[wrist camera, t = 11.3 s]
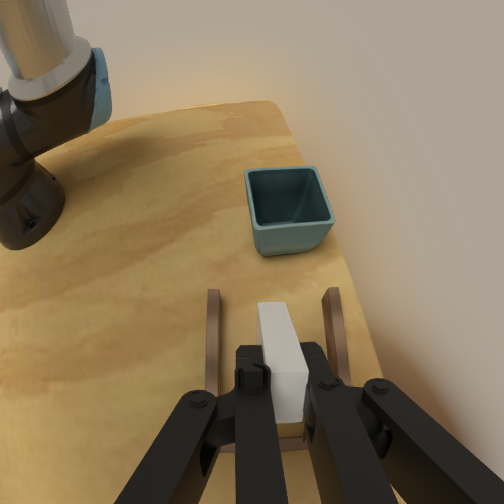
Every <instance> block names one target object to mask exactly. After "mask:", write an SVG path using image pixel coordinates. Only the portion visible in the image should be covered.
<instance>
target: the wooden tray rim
mask: <svg viewBox="0 0 504 504" xmlns="http://www.w3.org/2000/svg"><path fill="white" fill-rule="evenodd" d="M322 308H323V316H324V325H325V334H326V344H327V354H328V363H329V365H330V367H331V370H332V372H333V374H334V375H335V376H337V377H339V378H341V379H342V381H343V382H344V384H345V385H347V386H351V382H350V372H349V362H348V353H347V345H346V336H345V329H344V321H343V314H342V307H341V300H340V293H339V287H331V288H328V289H327V291H326V293H325V295H324V296H323V298H322ZM220 348H221V298H220V292H219V289H208V302H207V330H206V371H205V391H208V392H211V393H212V394H213V395H215V397H217V396H220ZM278 439H279V446H280V451H292V450H304V449H309V448H308V444H307V440H305V442H302V441H303V436H300V437H287V438H278ZM220 452H222V453H235V443H232V444H228V445H224V446H221V449H220Z"/></svg>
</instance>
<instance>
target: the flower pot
mask: <svg viewBox="0 0 504 504" xmlns="http://www.w3.org/2000/svg"><path fill="white" fill-rule="evenodd" d="M244 176H245V184H246V193H247V200H248V205H249V211H250V216H251V222H252V228H253V235H254V242H255V247H256V250H257V251H258V253H260V254H261V255H264V256H272V255H281V254H290V253H300V252H305V251H308V250H311V249H313V248H315V247H316V246H318V245H319V244H320V243H321V242H322V240H323V239H324V238H325V236H326V235H327V233H328V232H329V230H330V229H331V227H332V225H333V224H334V222H335V217H334V214H333V211H332V209H331V206H330V203H329V200H328V197H327V195H326V192H325V189H324V187H323V184H322V181H321V179H320V176H319V173H318V171H317V169H316V168H315V167H314V166H296V167H279V168H259V169H248V170H245V171H244Z"/></svg>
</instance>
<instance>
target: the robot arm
mask: <svg viewBox="0 0 504 504" xmlns="http://www.w3.org/2000/svg"><path fill="white" fill-rule="evenodd" d="M0 48H1V51H2V53H3V54H4V57H5V59H6V61H7V63H8V65H9V67H10V68H11V71H12V74H11V76H10V78H9V82H8V89H7V90H5V91H2V87H0V243H1V244H2V245H3V246H4V247H6V248H8V249H12V250H17V249H22V248H25V247H27V246H29V245H31V244H33V243H35V242H36V241H37V240H39V239H40V238H41V237H42V236H43V235H45V234H46V233H47V232H48V230H49V229H50V228H51V227H52V226H53V224H54V223H55V221H56V220H57V218H58V216H59V215H60V213H61V210H62V207H63V204H64V190H63V188H62V186H61V184H60V183H59V181H58V179H57V178H56V177H55V176H54V175H53V174H51V173H49V172H48V171H47V170H46V169H45V168H44V167H43V166H41V165H40V164H39V163H38V162H36V160H35V159H34V158H35V157H37V156H39V155H41V154H43V153H45V152H47V151H49V150H51V149H53V148H55V147H57V146H59V145H62V144H64V143H66V142H68V141H70V140H73V139H75V138H77V137H79V136H82V135H84V134H87V133H89V132H90V131H91V130H93V129H95V128H97V127H99V126H101V125H103V124H105V123H106V122H107V121H108V120H109V119H110V117H111V113H112V101H111V91H110V85H109V82H108V71H107V66H106V61H105V57H104V54H103V51H102V49H101V48H91V47H90V44H89V42H88V41H87V40H86V39H84V38H82V37H79V36H75V34H74V31H73V27H72V23H71V19H70V15H69V11H68V7H67V2H66V0H0ZM303 414H304V417H305V427H304V433H303V441H302V442H305V440H307V444H308V448H309V452H310V456H311V460H312V465H313V469H314V473H315V477H316V481H317V485H318V490H319V494H320V498H321V502H322V504H399V503H398V501H397V499H396V496H395V494H394V492H393V490H392V487H391V485H392V486H393V488H394V489H395V490H396V491H397V492H398V494H399V495H400V496H401V497H402V498H403V500H404V501H405V502H406V503H407V504H504V481H503V480H501V479H500V478H499V477H498V476H497V475H496V474H495V473H493V471H491V470H490V469H489V468H488V467H487V466H486V465H485V464H483V463H482V462H481V461H480V460H479V459H478V458H477V457H475V456H474V455H473V454H472V453H471V452H470V451H469V450H468V449H466V448H465V447H464V446H463V445H462V444H461V443H460V442H458V441H457V440H456V439H455V438H454V437H453V436H452V435H451V434H449V433H448V432H447V431H446V430H445V429H444V428H443V427H442V426H441V425H439V424H438V423H437V422H436V421H435V420H434V419H433V418H432V417H430V416H429V415H428V414H427V413H426V412H425V411H424V410H422V409H421V408H420V407H419V406H418V405H417V404H416V403H415V402H414V401H412V400H411V399H410V398H409V397H408V396H407V395H406V394H405V393H404V392H402V391H401V390H400V389H399V388H398V387H397V386H396V385H394V384H393V383H392V382H390V381H389V380H386V379H382V378H375V379H371V380H369V381H367V382H366V383H365V385H364V388H362V387H351V386H347V385H345V384H344V382H343V381H342V379H341V378H339V377H337V376H335V375H334V374H333V372H332V370H331V367H330V365H329V363H328V361H327V359H326V356H325V354H324V352H323V350H322V348H321V346H319V345H318V344H317V343H315V342H303V343H299V341H298V338H297V335H296V332H295V330H294V327H293V324H292V321H291V318H290V315H289V312H288V310H287V307H286V304H285V302H258V305H257V345H240V347H239V348H238V349H237V350H236V369H235V387H234V389H233V390H232V391H231V392H229V393H227V394H225V395H222V396H217V397H215V395H213V394H212V393H211V392H208V391H205V390H194V391H190V392H188V393H186V394H184V395H183V396H182V397H181V399H180V400H179V402H178V404H177V405H176V407H175V408H174V410H173V412H172V413H171V415H170V416H169V418H168V420H167V421H166V423H165V424H164V426H163V428H162V429H161V431H160V432H159V434H158V435H157V437H156V439H155V440H154V442H153V443H152V445H151V447H150V448H149V450H148V451H147V453H146V454H145V456H144V458H143V459H142V461H141V462H140V464H139V465H138V467H137V469H136V470H135V472H134V473H133V475H132V476H131V478H130V479H129V481H128V483H127V484H126V486H125V487H124V489H123V490H122V492H121V493H120V495H119V496H118V498H117V500H116V501H115V503H114V504H198V503H199V501H200V498H201V496H202V494H203V491H204V489H205V486H206V484H207V482H208V479H209V477H210V474H211V472H212V469H213V467H214V464H215V462H216V459H217V457H218V454H219V452H220V449H221V446H224V445H228V444H232V443H235V474H236V504H288V497H287V491H286V484H285V478H284V472H283V465H282V459H281V452H280V446H279V439H278V433H277V426H276V424H280V423H294V422H302V420H303ZM386 426H387V427H386ZM390 484H391V485H390Z"/></svg>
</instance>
